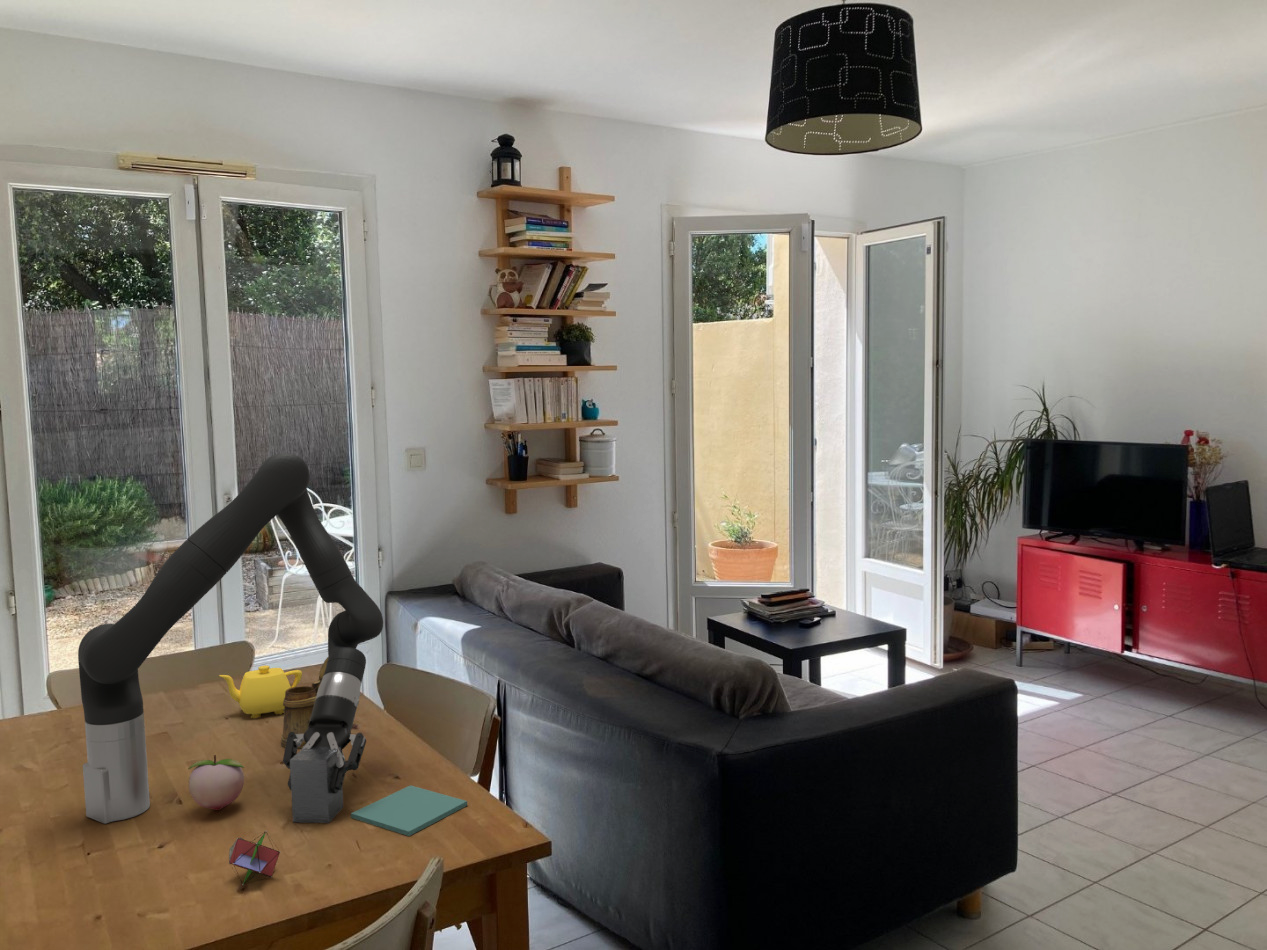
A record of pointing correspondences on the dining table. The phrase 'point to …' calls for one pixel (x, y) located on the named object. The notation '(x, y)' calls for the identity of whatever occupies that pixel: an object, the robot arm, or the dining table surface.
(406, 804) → the teal mat
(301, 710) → the wooden mug
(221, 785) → the decorative fruit
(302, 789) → the block
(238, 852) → the geometric puzzle
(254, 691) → the teapot
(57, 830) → the dining table surface
